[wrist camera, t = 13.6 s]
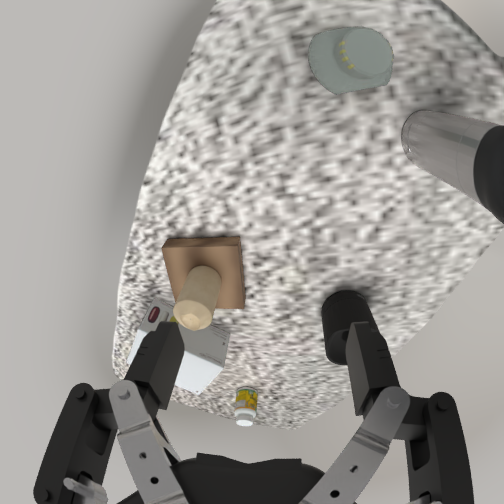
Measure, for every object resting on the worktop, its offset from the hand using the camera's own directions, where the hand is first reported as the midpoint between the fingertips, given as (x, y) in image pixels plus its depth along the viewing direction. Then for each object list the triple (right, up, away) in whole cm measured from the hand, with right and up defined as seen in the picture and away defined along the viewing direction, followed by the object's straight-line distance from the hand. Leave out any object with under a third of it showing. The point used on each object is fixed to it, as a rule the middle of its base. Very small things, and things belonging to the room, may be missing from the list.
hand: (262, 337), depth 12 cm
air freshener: (+12, +29, +17) cm, 36 cm away
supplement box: (-15, -13, +43) cm, 48 cm away
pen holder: (+17, -6, +37) cm, 41 cm away
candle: (-8, 0, +32) cm, 33 cm away
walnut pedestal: (-8, +1, +34) cm, 35 cm away
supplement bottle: (-2, -32, +53) cm, 62 cm away
